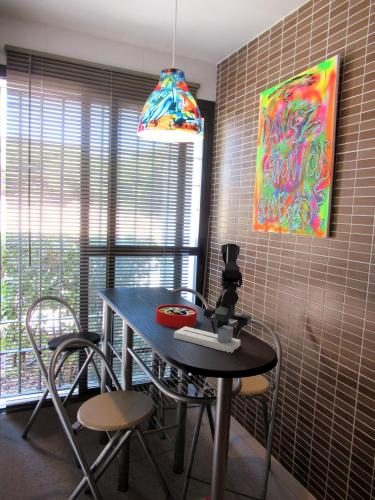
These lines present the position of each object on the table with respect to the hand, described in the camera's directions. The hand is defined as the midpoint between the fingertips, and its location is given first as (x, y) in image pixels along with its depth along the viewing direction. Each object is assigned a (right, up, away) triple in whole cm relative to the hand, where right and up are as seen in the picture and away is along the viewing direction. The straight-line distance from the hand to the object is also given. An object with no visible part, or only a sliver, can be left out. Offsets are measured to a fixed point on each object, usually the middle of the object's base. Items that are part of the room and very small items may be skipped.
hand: (225, 336), depth 147 cm
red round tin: (-21, 0, +30) cm, 36 cm away
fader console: (-7, -3, +4) cm, 9 cm away
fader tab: (0, -1, 0) cm, 2 cm away
